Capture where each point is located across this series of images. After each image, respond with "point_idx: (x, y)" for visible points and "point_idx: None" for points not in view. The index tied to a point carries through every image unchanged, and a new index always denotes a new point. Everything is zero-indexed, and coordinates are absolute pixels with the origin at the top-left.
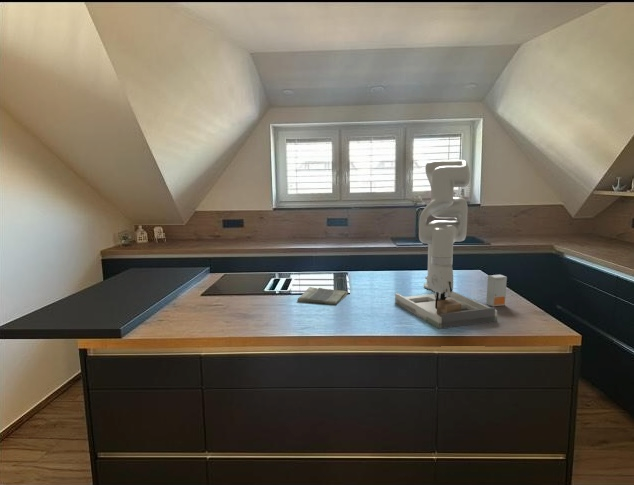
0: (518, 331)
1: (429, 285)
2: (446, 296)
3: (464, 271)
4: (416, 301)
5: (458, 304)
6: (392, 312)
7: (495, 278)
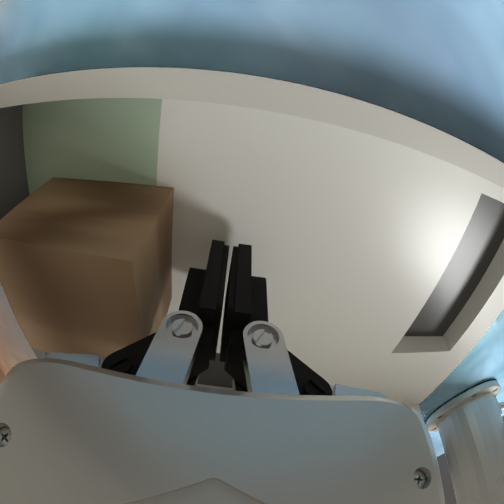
0: (8, 340)
1: (385, 437)
2: (66, 358)
3: (441, 453)
4: (480, 282)
5: (23, 327)
6: (470, 20)
7: None
